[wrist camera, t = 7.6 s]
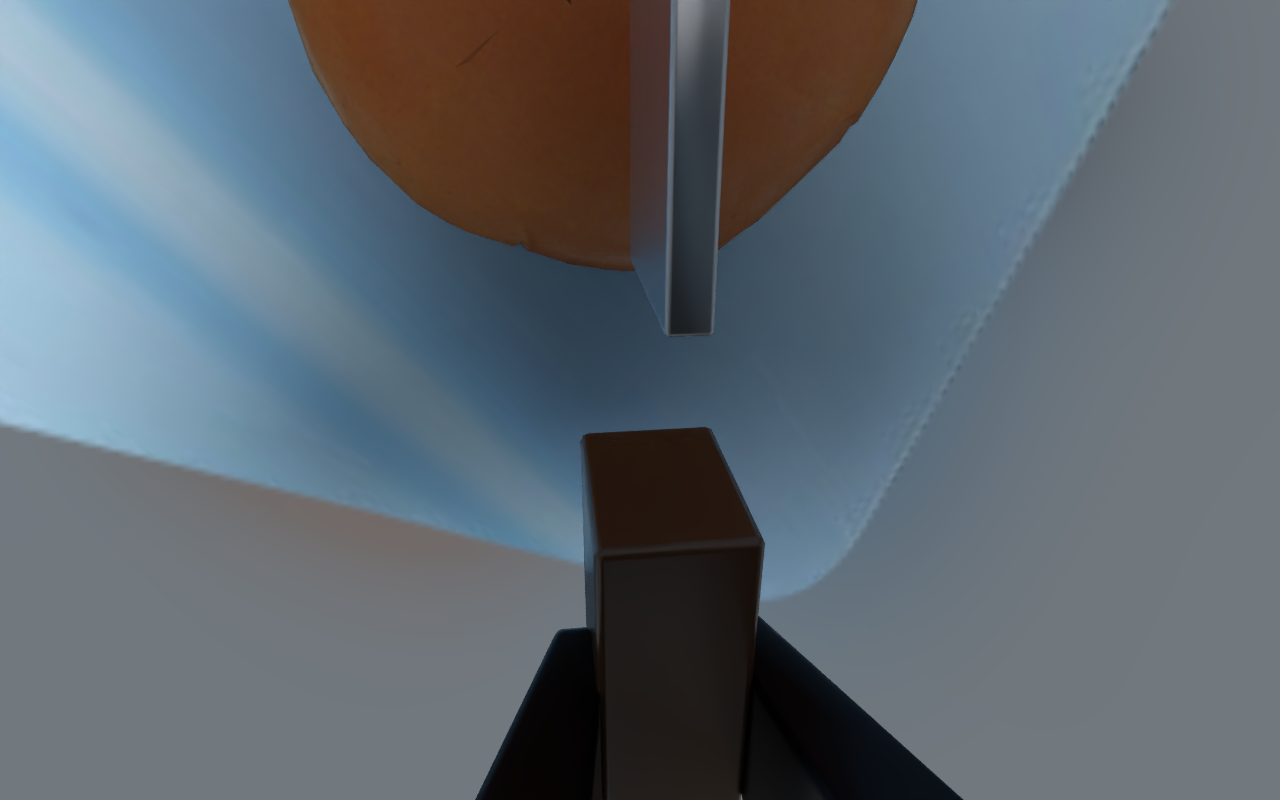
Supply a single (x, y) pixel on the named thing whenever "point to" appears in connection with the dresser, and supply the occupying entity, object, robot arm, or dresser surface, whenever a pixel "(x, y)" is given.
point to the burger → (581, 106)
